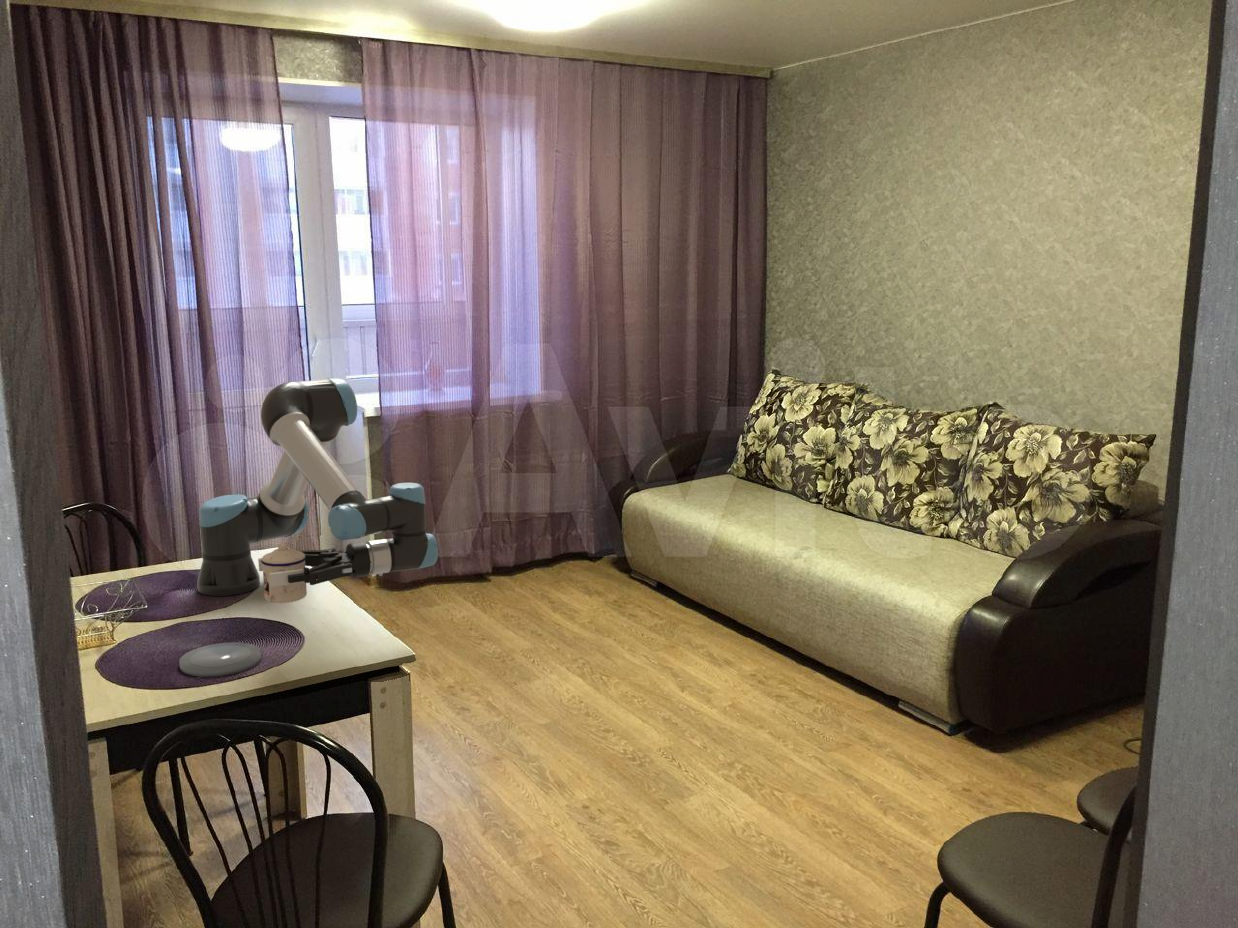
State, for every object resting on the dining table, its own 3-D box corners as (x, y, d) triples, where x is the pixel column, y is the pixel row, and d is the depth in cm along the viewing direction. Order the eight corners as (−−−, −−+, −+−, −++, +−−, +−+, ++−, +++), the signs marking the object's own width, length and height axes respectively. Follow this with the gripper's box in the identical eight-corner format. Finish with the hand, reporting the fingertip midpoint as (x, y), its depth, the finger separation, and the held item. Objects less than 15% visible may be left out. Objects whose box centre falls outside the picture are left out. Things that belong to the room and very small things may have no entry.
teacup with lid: (266, 591, 223) (263, 539, 221) (310, 589, 225) (307, 538, 223) (258, 609, 212) (255, 555, 210) (304, 607, 214) (301, 553, 211)
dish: (175, 655, 219) (175, 649, 219) (254, 642, 227) (253, 637, 226) (184, 682, 205) (183, 676, 205) (267, 667, 213) (267, 661, 212)
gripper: (383, 589, 216) (277, 605, 206) (353, 561, 237) (254, 574, 226) (382, 555, 215) (275, 570, 204) (351, 529, 235) (252, 541, 225)
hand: (264, 572), depth 215 cm, fingers closed on teacup with lid, 11 cm apart
